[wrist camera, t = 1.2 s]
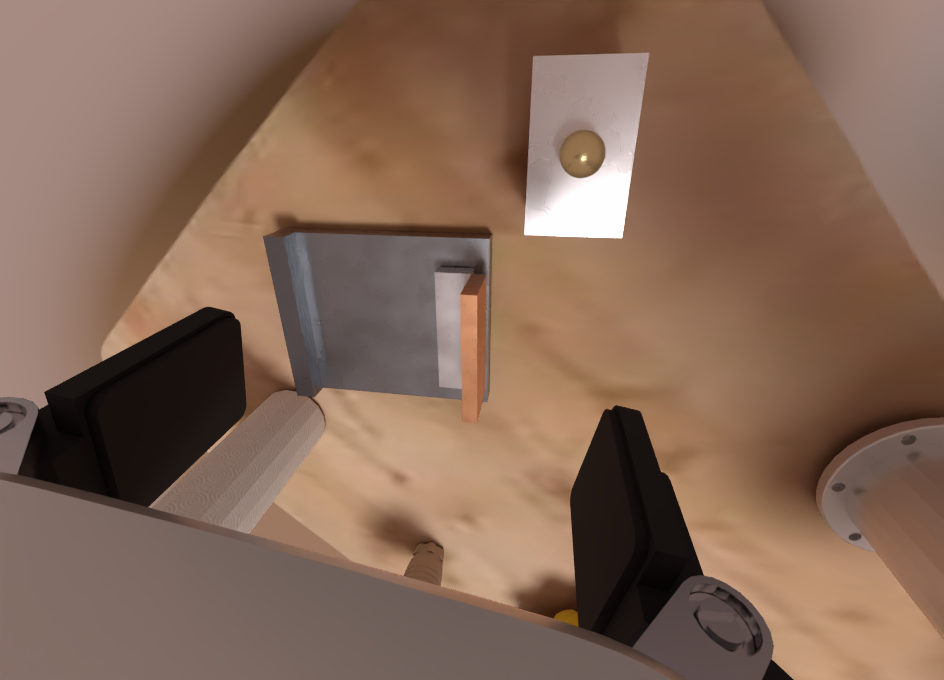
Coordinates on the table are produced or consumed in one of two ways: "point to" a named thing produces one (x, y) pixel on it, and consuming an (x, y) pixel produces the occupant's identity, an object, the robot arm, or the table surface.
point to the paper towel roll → (249, 464)
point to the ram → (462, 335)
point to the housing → (582, 142)
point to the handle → (426, 564)
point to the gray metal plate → (369, 306)
